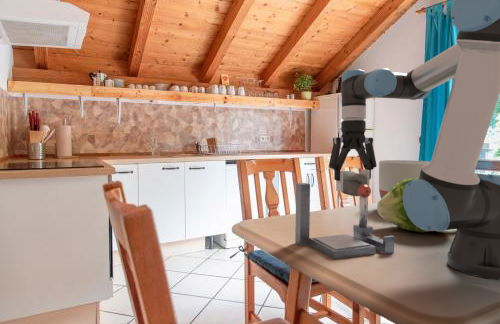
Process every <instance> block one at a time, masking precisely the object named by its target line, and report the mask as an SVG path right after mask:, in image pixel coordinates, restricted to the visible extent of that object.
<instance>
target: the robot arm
mask: <svg viewBox="0 0 500 324" xmlns="http://www.w3.org/2000/svg"><path fill="white" fill-rule="evenodd" d="M450 19H451V20H452V24H453V26H454V28H456V29H457V30H458V32H457V35H456V40H455V42H456V43H455V44H453V45H452V46H450V47H449V48H447V49H445V50H443V51H442V52H440V53H439V54H437V55H435V56H434V57H432V58H431V59H429V60H427V61H425V62H424V63H422V64H421V65H419V66H417V67H415V68H414V69H412V70H411V71H409V72H405V73H403V72H393V71H392V70H391V69H389V68H385V67H384V68H377V69H374V70H372V71H369V72H366V71H365V70H362V69H351V70H345V71H343V72H342V74H341V83H340V88H341V89H340V90H341V91H340V92H341V93H340V94H341V95H340V96H341V99H340V100H341V101H340V102H341V108H340V109H341V111H340V112H341V115H340V117H341V120H342V121H341V123H340V125H341V126H340V131H341V136H339V137H336V136H335V137H333V138H332V145H333V146H332V148H331V153H330V158H329V164H328V169H330V170H331V169H332V170H333V175H334V176H333V178H334V181H335V191H336V192H341V193H342V191H343V171H344V170H342V169H343V166H344V164H345V161H346V159H347V157H348V154H349V152H351V150H355V151H356V152H357V154H358V157H359V159H360V161H361V164H362V166H363V169H362V171H361V174H362V175H364V176H365V177H366V185H368V186H369V187H370V180H371V179H372V170H374V168H377V166H378V165H377V160H376V156H375V150H374V145H373V143H374V138H373V137H366V135H365V132H366V131H367V128H366V127H367V125H366V124H367V123H366V118H367V100H368V99H369V100H370V99H374V98H375V99H378V98H379V99H395V100H396V99H400V100H410V101H416V100H423V99H425V98H427V97H428V96H429V94H430V93H431V92H432V90H433V89H435V88H436V87H439V86H441V85H443V84H445V83H447V82H448V81H451V80H453V82H452V85H451V89H450V93H449V94H448V95H449V96H448V100H447V102H446V106H445V110H444V113H443V117H442V121H441V124H440V128H439V132H438V134H437V135H438V136H437V139H436V142H435V146H434V150H433V153H432V157H431V159H430V161H428V162H429V163H427V164H425V165H423V166H422V168H421V172H420V176H419V179H414V180H412V181H411V182H410V183H408V184H407V185H406V186H405V188H404V191H403V205H404V209H405V211H406V213H407V216H408V217H409V219H410V220H411V221H412V222H413V224H415V225H416V226H417V227H419V228H420V229H423V230H426V231H428V232H434V231H435V232H444V231H449V230H456V233H455V235H454V237H453V240H452V243H451V245H450V247H449V250H448V251H447V254H446V255H447V258H446V263H447V265H448V266H449V267H451V268H452V269H454V270H457V271H459V272H461V273H464V274H468V275H472V276H476V277H479V278H484V279H485V278H486V279H493V280H500V175H499V174H492V173H485V172H476V168H477V165H478V161H479V159H480V155H481V152H482V150H483V146H484V143H485V140H486V137H487V134H488V130H489V129H490V128H489V127H490V125H491V121H492V118H493V115H494V113H495V109H496V106H497V104H498V101H499V97H500V0H452V3H451V6H450Z"/></svg>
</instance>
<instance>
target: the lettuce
mask: <svg viewBox="0 0 500 324" xmlns="http://www.w3.org/2000/svg"><path fill="white" fill-rule="evenodd" d="M414 179H419V178H410V179H405V180H402V181H400V182H398V183H397V184H395V185H394V186H393V187H392V188H391V189H390V191H389V192H388V193H387V194H386V195H385V196H384V197H382V199H381V198H380V199H379V201H378V202H377V204H376V205H377V207H376V208H377V209H376V210H377V213H378V215H379V216H380V217H382V218H383V219H384V220H386V221H387V222H389V223H392V224H394V225H395V226H397V227H398V228H400V229H403V230H405V231H408V232H413V233H414V232H416V233H427V232H429V231H426V230H423V229H420V228H419V227H417V226H416V225H415V224H413V222H412V221H411V220H410V219H409V217H408V216H407V213H406V211H405V209H404V205H403V191H404V188H405V186H406V185H407V184H408V183H410V182H411V181H412V180H414Z"/></svg>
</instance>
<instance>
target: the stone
mask: <svg viewBox="0 0 500 324" xmlns="http://www.w3.org/2000/svg"><path fill="white" fill-rule="evenodd" d="M342 171H343V191H342V192H341V193H342V194H344V195H349V196H350V197H360V196H359V195H358V193H357V189H358V187H359V186H360V185H363V184H365V185H366V177H365V176H364V175H362V173H358V172H355V171H350V170H342Z"/></svg>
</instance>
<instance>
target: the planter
mask: <svg viewBox="0 0 500 324" xmlns="http://www.w3.org/2000/svg"><path fill="white" fill-rule="evenodd" d="M429 162H430V161H425V160H411V159H410V160H407V159H386V160H385V159H382V160H379V161H378V192H379V195H380V200H381V199H382V197H384V196H385V195H386V194H387V193H388V192H389V191H390V189H391V188H392V187H393V186H394V185H395V184H397V183H398V182H400V181H402V180H405V179H410V178H419V176H420V172H421V168H422V166H423V165H425V164H427V163H429Z"/></svg>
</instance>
